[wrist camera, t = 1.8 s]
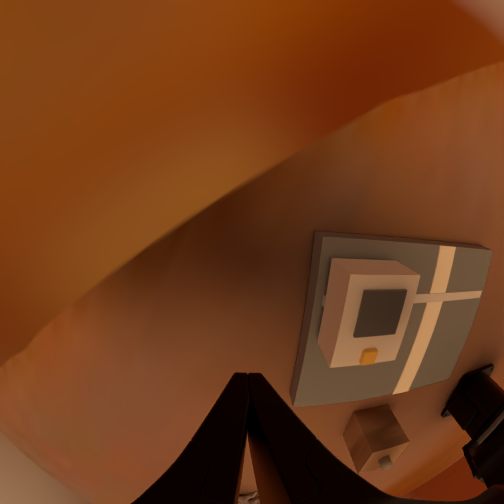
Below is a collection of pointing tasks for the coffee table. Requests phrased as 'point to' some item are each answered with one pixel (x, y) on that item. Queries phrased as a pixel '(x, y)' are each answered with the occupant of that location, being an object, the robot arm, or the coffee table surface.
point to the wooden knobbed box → (374, 439)
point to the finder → (366, 311)
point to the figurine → (245, 501)
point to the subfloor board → (419, 324)
